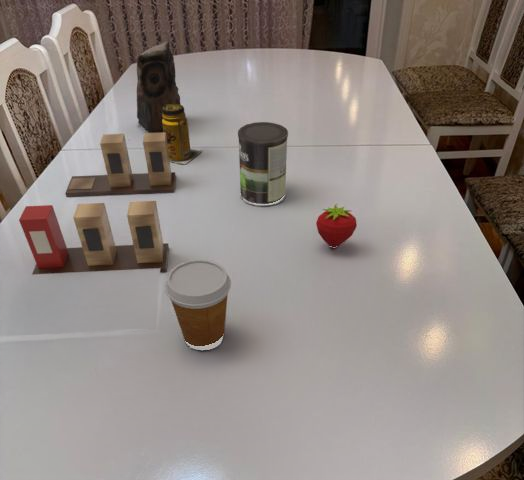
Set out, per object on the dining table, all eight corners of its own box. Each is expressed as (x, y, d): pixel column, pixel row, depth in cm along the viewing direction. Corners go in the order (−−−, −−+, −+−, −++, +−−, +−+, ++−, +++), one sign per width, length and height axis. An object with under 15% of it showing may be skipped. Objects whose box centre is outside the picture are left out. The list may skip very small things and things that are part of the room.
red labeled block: (37, 269, 91) (18, 220, 83) (43, 254, 94) (25, 206, 87) (63, 267, 91) (46, 219, 84) (68, 252, 94) (52, 204, 87)
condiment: (160, 159, 124) (152, 109, 116) (178, 146, 130) (172, 97, 121) (184, 165, 122) (178, 114, 113) (202, 152, 127) (198, 102, 119)
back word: (66, 197, 111) (51, 148, 103) (73, 180, 117) (59, 132, 109) (174, 192, 112) (167, 144, 105) (175, 176, 118) (169, 129, 110)
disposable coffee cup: (181, 315, 83) (171, 255, 74) (237, 319, 82) (234, 259, 74) (168, 356, 76) (155, 296, 68) (229, 361, 76) (224, 300, 67)
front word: (33, 278, 90) (11, 225, 82) (43, 253, 96) (24, 201, 88) (166, 272, 91) (157, 219, 84) (169, 247, 97) (160, 195, 89)
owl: (181, 117, 144) (172, 37, 129) (188, 134, 135) (179, 51, 121) (137, 121, 141) (123, 41, 127) (142, 139, 133) (127, 55, 119)
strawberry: (353, 258, 94) (360, 210, 87) (313, 256, 95) (317, 208, 88) (352, 240, 98) (359, 194, 91) (314, 238, 99) (318, 192, 92)
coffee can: (244, 209, 107) (242, 144, 97) (236, 186, 114) (233, 124, 104) (291, 204, 108) (293, 139, 98) (280, 182, 116) (281, 119, 106)
